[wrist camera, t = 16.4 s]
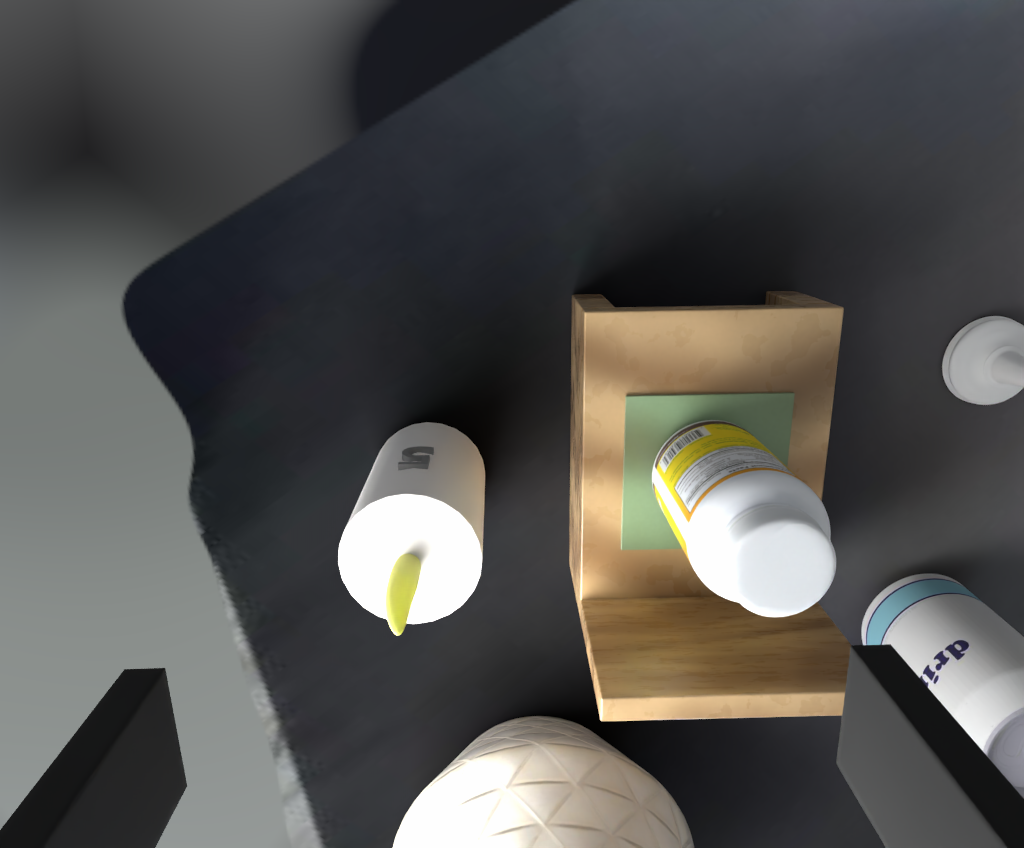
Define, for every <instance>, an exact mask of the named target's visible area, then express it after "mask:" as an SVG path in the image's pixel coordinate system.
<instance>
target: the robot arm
mask: <svg viewBox="0 0 1024 848" xmlns="http://www.w3.org/2000/svg"><path fill="white" fill-rule="evenodd" d="M836 764H837V766H838V767H839V769H840V771H841V772H842V774H843V776H844V777H845V779H846V781H847V783H848V784H849V786H850V788H851V789H852V791H853V793H854V794H855V796H856V798H857V799H858V801H859V803H860V805H861V806H862V808H863V810H864V811H865V813H866V815H867V816H868V818H869V820H870V821H871V823H872V825H873V827H874V828H875V830H876V832H877V833H878V835H879V837H880V838H881V840H882V842H883V843H884V845H885V847H886V848H1024V798H1023V797H1022V796H1021V795H1020V794H1019V792H1018V791H1017V790H1016V789H1015V788H1014V787H1013V785H1012V784H1011V783H1010V782H1009V781H1008V780H1007V779H1006V777H1005V776H1004V775H1003V774H1002V773H1001V772H1000V770H999V769H998V768H997V767H996V766H995V765H994V763H993V762H992V761H991V760H990V759H989V758H988V757H987V755H986V754H985V753H984V752H983V751H982V750H981V748H980V747H979V746H978V745H977V744H976V743H975V742H974V740H973V739H972V738H971V737H970V736H969V735H968V733H967V732H966V731H965V730H964V729H963V728H962V726H961V725H960V724H959V723H958V722H957V721H956V720H955V718H954V717H953V716H952V715H951V714H950V713H949V711H948V710H947V709H946V708H945V707H944V706H943V704H942V703H941V702H940V701H939V700H938V699H937V698H936V696H935V695H934V694H933V693H932V692H931V691H930V689H929V688H928V687H927V686H926V685H925V684H924V683H923V681H922V680H921V679H920V678H919V677H918V676H917V674H916V673H915V672H914V671H913V670H912V669H911V667H910V666H909V665H908V664H907V663H906V662H905V661H904V659H903V658H902V657H901V656H900V655H899V654H898V652H897V651H896V650H895V649H894V648H893V647H892V645H891V644H886V645H855V646H851V649H850V657H849V665H848V673H847V681H846V689H845V697H844V705H843V713H842V721H841V729H840V737H839V745H838V753H837V761H836ZM186 787H187V783H186V778H185V773H184V767H183V762H182V756H181V752H180V746H179V740H178V735H177V729H176V724H175V719H174V714H173V708H172V703H171V697H170V692H169V687H168V681H167V676H166V671H165V668H158V669H157V668H154V669H127V670H126V669H125V670H124V671H123V672H122V673H121V675H120V676H119V678H118V679H117V680H116V681H115V683H114V684H113V685H112V687H111V688H110V689H109V690H108V692H107V693H106V694H105V696H104V697H103V698H102V699H101V701H100V702H99V703H98V705H97V706H96V707H95V708H94V710H93V711H92V712H91V714H90V715H89V716H88V718H87V719H86V720H85V721H84V723H83V724H82V725H81V726H80V728H79V729H78V731H77V732H76V733H75V734H74V736H73V737H72V738H71V740H70V741H69V742H68V743H67V745H66V746H65V747H64V748H63V750H62V751H61V752H60V754H59V755H58V757H57V758H56V759H55V760H54V761H53V763H52V764H51V765H50V767H49V768H48V769H47V771H46V772H45V773H44V774H43V776H42V777H41V778H40V780H39V781H38V782H37V783H36V785H35V786H34V787H33V789H32V790H31V791H30V792H29V794H28V795H27V796H26V798H25V799H24V800H23V801H22V803H21V804H20V805H19V807H18V808H17V809H16V811H15V812H14V813H13V814H12V816H11V817H10V818H9V820H8V821H7V822H6V824H5V825H4V826H3V828H2V829H1V830H0V848H155V847H156V845H157V843H158V841H159V839H160V837H161V835H162V833H163V831H164V829H165V828H166V826H167V824H168V822H169V820H170V818H171V816H172V814H173V812H174V810H175V808H176V806H177V804H178V802H179V800H180V799H181V796H182V795H183V793H184V791H185V789H186Z"/></svg>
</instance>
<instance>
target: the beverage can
mask: <svg viewBox="0 0 1024 848" xmlns="http://www.w3.org/2000/svg"><path fill="white" fill-rule="evenodd" d="M861 634H862V642H863V645H886V644H891V645H892V647H893V648H894V649H895V650H896V651H897V652H898V654H899V655H900V656H901V657H902V658H903V659H904V661H905V662H906V663H907V664H908V665H909V666H910V667H911V669H912V670H913V671H914V672H915V673H916V674H917V676H918V677H919V678H920V679H921V680H922V681H923V683H924V684H925V685H926V686H927V687H928V688H929V689H930V691H931V692H932V693H933V694H934V695H935V696H936V698H937V699H938V700H939V701H940V702H941V703H942V704H943V706H944V707H945V708H946V709H947V710H948V711H949V713H950V714H951V715H952V716H953V717H954V718H955V720H956V721H957V722H958V723H959V724H960V725H961V726H962V728H963V729H964V730H965V731H966V732H967V733H968V735H969V736H970V737H971V738H972V739H973V740H974V742H975V743H976V744H977V745H978V746H979V747H980V748H981V750H982V751H983V752H984V753H985V754H986V755H987V757H988V758H989V759H990V760H991V761H992V762H993V763H994V765H995V766H996V767H997V768H998V769H999V770H1000V772H1001V773H1002V774H1003V775H1004V776H1005V777H1006V779H1007V780H1008V781H1009V782H1010V783H1011V784H1012V785H1013V787H1014V788H1015V789H1016V790H1017V791H1018V792H1019V794H1020V795H1021V796H1022V797H1023V798H1024V637H1023V636H1022V635H1021V634H1020V633H1019V632H1017V631H1016V630H1015V629H1014V628H1013V627H1011V626H1010V625H1009V624H1008V623H1007V622H1006V621H1004V620H1003V619H1002V618H1001V617H1000V616H998V615H997V614H996V613H995V612H994V611H993V610H991V609H990V608H989V607H988V606H987V605H985V604H984V603H983V602H982V601H981V600H980V599H978V598H977V597H976V596H975V595H974V594H972V593H971V592H970V591H969V590H968V589H966V588H965V587H964V586H963V585H962V584H960V583H959V582H958V581H956V580H954V579H952V578H950V577H947V576H943V575H939V574H917V575H913V576H909V577H906V578H903V579H901V580H898V581H896V582H894V583H893V584H891V585H889V586H888V587H887V588H885V589H884V590H883V591H882V592H880V593H879V594H878V595H877V596H876V598H875V599H874V600H873V601H872V603H871V604H870V606H869V607H868V609H867V611H866V613H865V616H864V619H863V623H862V630H861Z"/></svg>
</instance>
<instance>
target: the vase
mask: <svg viewBox="0 0 1024 848" xmlns="http://www.w3.org/2000/svg"><path fill="white" fill-rule="evenodd" d="M393 848H694V845H693V840H692V836H691V832H690V829H689V827H688V824H687V822H686V820H685V817H684V815H683V814H682V812H681V810H680V809H679V807H678V805H677V804H676V802H675V800H674V799H673V797H672V796H671V795H670V794H669V793H668V791H667V790H666V789H665V788H664V787H663V785H662V784H660V783H659V782H658V781H657V780H656V779H655V778H654V777H653V776H652V775H651V774H649V773H648V772H647V771H645V770H644V769H642V768H641V767H640V766H638V765H637V764H636V763H634V762H633V761H632V760H630V759H629V758H628V757H626V756H625V755H623V754H622V753H621V752H619V751H618V750H617V749H615V748H614V747H613V746H611V745H610V744H608V743H607V742H606V741H604V740H603V739H602V738H600V737H599V736H598V735H596V734H595V733H593V732H592V731H590V730H589V729H587V728H585V727H583V726H581V725H580V724H577V723H575V722H572V721H569V720H566V719H562V718H557V717H550V716H529V717H522V718H516V719H513V720H509V721H506V722H503V723H501V724H499V725H496V726H494V727H493V728H491V729H489V730H487V731H486V732H484V733H483V734H482V735H480V736H479V737H477V738H476V739H475V740H474V741H473V742H472V743H471V744H470V745H469V746H468V747H467V748H466V749H465V750H464V751H463V752H462V753H461V754H460V755H459V756H458V757H457V758H456V759H455V760H454V761H453V762H452V763H451V764H450V765H448V766H447V767H446V768H445V769H444V770H443V771H442V772H441V773H440V774H439V775H438V776H437V777H436V778H435V779H434V780H433V781H432V782H431V783H430V784H429V785H428V786H427V787H426V788H425V789H424V790H423V791H422V793H421V794H420V795H419V796H418V797H417V799H416V800H415V801H414V802H413V804H412V805H411V807H410V808H409V810H408V812H407V813H406V815H405V816H404V819H403V821H402V823H401V825H400V828H399V830H398V832H397V834H396V837H395V841H394V845H393Z"/></svg>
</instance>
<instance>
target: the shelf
mask: <svg viewBox="0 0 1024 848" xmlns="http://www.w3.org/2000/svg"><path fill="white" fill-rule="evenodd" d="M843 311H844V308H843V307H841V306H838V305H835V304H832V303H829V302H826V301H823V300H820V299H817V298H814V297H811V296H808V295H805V294H802V293H800V292H797V291H767V292H766V301H765V305H731V306H672V307H614V306H613V305H612V304H611V303H610V302H609V301H608V300H607V299H606V298H605V297H604V296H603V295H602V294H574V295H572V339H571V445H570V552H569V565H570V570H571V575H572V580H573V585H574V590H575V595H576V600H577V605H578V610H579V615H580V620H581V625H582V630H583V635H584V640H585V645H586V650H587V655H588V660H589V665H590V670H591V675H592V681H593V686H594V691H595V696H596V701H597V706H598V711H599V716H600V720H601V721H639V720H678V719H717V718H756V717H795V716H834V715H842V713H843V705H844V697H845V689H846V681H847V673H848V665H849V657H850V649H851V646H852V645H851V644H850V643H849V642H848V640H847V639H846V638H845V636H844V635H843V634H842V633H841V631H840V630H839V629H838V628H837V626H836V625H835V624H834V622H833V621H832V620H831V619H830V617H829V616H828V615H827V613H826V612H825V611H824V610H823V608H822V607H821V606H820V605H819V603H818V602H816V603H815V604H814V605H812V606H811V607H809V608H808V609H806V610H804V611H802V612H800V613H797V614H794V615H790V616H785V617H767V616H762V615H759V614H756V613H754V612H752V611H750V610H748V609H746V608H745V607H744V606H742V605H741V604H740V603H738V602H734V601H731V600H728V599H726V598H724V597H722V596H720V595H718V594H716V593H715V592H713V591H712V590H711V589H709V588H708V587H707V586H706V585H705V584H704V583H703V582H702V580H701V579H700V578H699V576H698V575H697V573H696V572H695V571H694V569H693V567H692V565H691V563H690V561H689V559H688V558H687V556H686V554H685V552H684V550H683V548H682V546H681V544H680V542H679V541H678V539H677V537H676V535H675V533H674V531H673V529H672V527H671V526H670V524H669V522H668V520H667V518H666V516H665V514H664V513H663V511H662V509H661V507H660V505H659V503H658V501H657V499H656V497H655V494H654V490H653V485H652V471H653V466H654V462H655V459H656V457H657V454H658V452H659V451H660V449H661V447H662V446H663V445H664V443H665V442H666V441H667V440H668V439H669V438H670V437H671V436H672V435H673V434H674V433H676V432H677V431H678V430H680V429H682V428H684V427H686V426H688V425H690V424H693V423H696V422H700V421H706V420H720V421H726V422H730V423H733V424H736V425H738V426H740V427H742V428H743V429H745V430H746V431H748V432H749V433H751V434H752V435H753V436H754V437H755V438H756V439H757V440H758V441H759V442H760V443H762V444H763V445H764V446H765V447H766V448H767V449H768V450H769V451H770V452H771V453H772V454H774V455H775V456H776V457H777V458H778V459H779V460H780V461H781V462H782V463H783V464H785V465H786V466H787V467H788V468H789V469H790V470H791V471H792V472H793V473H794V474H795V475H796V476H797V477H799V478H800V479H801V480H802V481H803V482H804V483H805V484H806V485H807V486H808V487H810V488H811V489H812V491H813V492H814V493H815V494H816V495H817V496H818V497H819V499H820V500H821V502H822V494H823V485H824V476H825V468H826V459H827V450H828V442H829V433H830V424H831V416H832V407H833V398H834V389H835V381H836V372H837V363H838V355H839V346H840V337H841V329H842V320H843Z"/></svg>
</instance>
